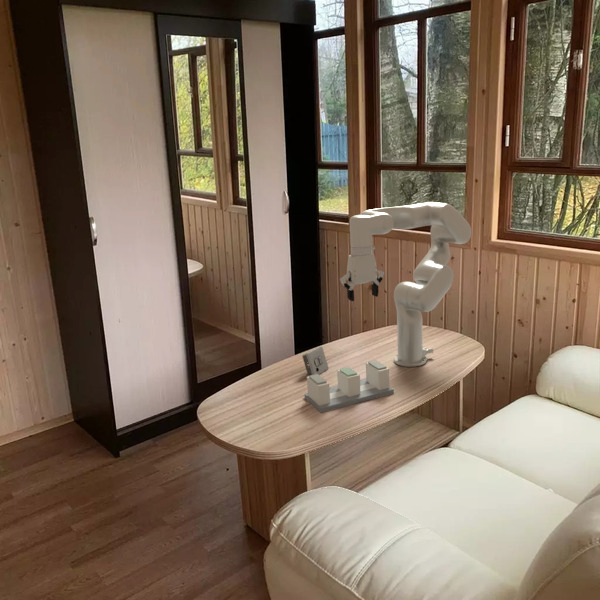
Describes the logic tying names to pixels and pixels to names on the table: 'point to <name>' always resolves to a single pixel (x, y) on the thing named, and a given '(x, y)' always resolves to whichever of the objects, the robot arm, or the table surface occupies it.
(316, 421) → the table surface
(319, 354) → the electrical switch
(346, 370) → the block
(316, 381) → the mounted modules
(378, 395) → the rail board
